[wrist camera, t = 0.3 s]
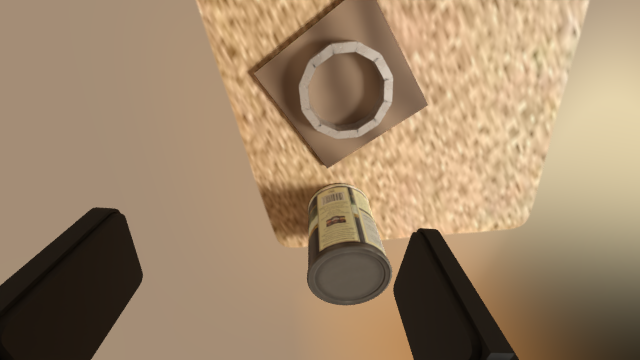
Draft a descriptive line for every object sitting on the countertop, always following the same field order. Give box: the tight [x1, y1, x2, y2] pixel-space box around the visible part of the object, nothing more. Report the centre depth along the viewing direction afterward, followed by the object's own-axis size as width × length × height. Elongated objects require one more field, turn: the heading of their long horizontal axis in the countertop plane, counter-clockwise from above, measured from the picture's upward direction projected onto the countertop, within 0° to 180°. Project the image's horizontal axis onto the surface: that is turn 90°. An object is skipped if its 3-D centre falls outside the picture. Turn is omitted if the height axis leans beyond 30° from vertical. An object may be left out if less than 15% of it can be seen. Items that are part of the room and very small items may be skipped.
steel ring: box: [299, 40, 393, 139], centre depth 33 cm, size 11×11×2 cm
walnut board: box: [254, 0, 428, 168], centre depth 35 cm, size 16×16×1 cm
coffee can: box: [307, 184, 392, 305], centre depth 39 cm, size 10×10×14 cm
